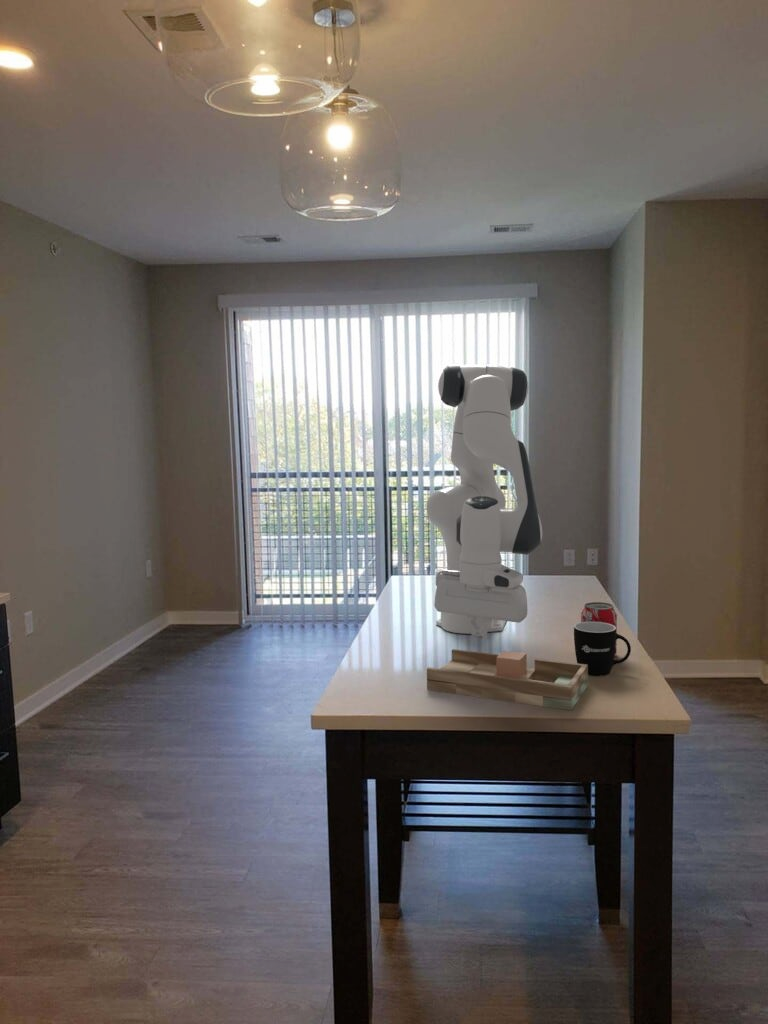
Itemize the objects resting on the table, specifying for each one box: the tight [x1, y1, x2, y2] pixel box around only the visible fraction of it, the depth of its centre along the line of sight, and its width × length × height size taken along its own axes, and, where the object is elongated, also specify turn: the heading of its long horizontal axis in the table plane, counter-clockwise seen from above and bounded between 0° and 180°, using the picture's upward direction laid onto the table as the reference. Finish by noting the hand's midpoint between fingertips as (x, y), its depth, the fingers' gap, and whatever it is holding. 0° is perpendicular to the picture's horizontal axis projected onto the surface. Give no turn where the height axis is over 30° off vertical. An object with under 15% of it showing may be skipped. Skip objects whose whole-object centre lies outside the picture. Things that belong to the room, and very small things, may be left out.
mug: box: [573, 621, 632, 677], centre depth 164 cm, size 12×9×10 cm
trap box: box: [426, 648, 589, 711], centre depth 156 cm, size 15×30×4 cm, turn 63°
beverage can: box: [580, 601, 618, 655], centre depth 176 cm, size 8×8×12 cm
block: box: [496, 650, 528, 679], centre depth 159 cm, size 5×5×4 cm
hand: (479, 636), depth 162 cm, fingers closed
